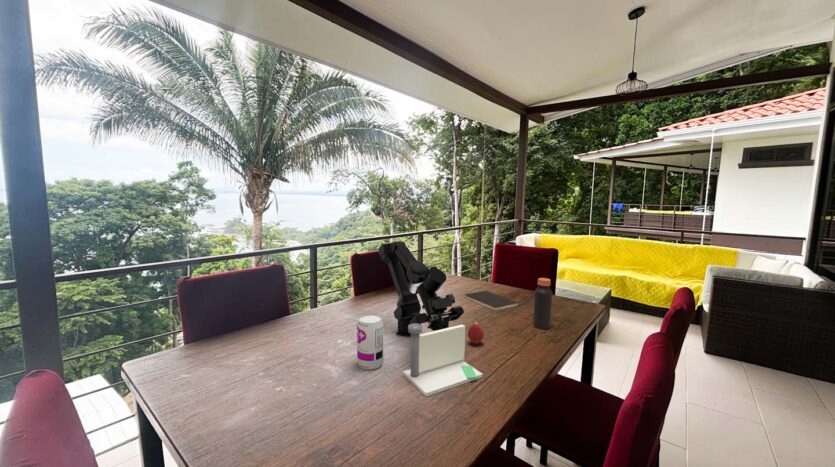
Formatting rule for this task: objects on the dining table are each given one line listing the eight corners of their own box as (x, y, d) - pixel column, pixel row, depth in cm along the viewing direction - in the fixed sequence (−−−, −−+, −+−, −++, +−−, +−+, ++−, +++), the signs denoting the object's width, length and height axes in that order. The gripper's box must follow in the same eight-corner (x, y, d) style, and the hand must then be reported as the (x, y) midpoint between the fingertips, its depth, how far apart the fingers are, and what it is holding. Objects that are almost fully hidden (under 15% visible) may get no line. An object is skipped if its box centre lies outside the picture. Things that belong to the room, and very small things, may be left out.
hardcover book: (494, 312, 161) (494, 307, 160) (464, 298, 180) (464, 294, 180) (519, 306, 169) (519, 302, 168) (487, 294, 188) (487, 290, 188)
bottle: (547, 323, 145) (550, 277, 143) (552, 330, 139) (555, 281, 136) (531, 322, 146) (533, 277, 144) (535, 329, 139) (537, 281, 137)
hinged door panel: (412, 379, 99) (412, 329, 97) (405, 373, 102) (405, 324, 100) (466, 362, 109) (468, 317, 107) (458, 357, 112) (460, 313, 110)
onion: (483, 347, 122) (484, 326, 121) (467, 346, 123) (467, 324, 122) (483, 341, 128) (484, 320, 127) (468, 339, 129) (468, 318, 128)
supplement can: (362, 373, 104) (361, 325, 102) (354, 361, 111) (353, 316, 109) (387, 367, 108) (387, 321, 106) (377, 356, 115) (377, 312, 113)
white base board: (428, 398, 91) (428, 394, 91) (402, 374, 103) (402, 370, 103) (485, 378, 102) (486, 374, 102) (457, 358, 114) (457, 354, 114)
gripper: (414, 290, 108) (433, 336, 100) (461, 282, 117) (482, 324, 109) (402, 307, 115) (419, 351, 107) (447, 299, 125) (466, 339, 117)
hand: (447, 341), depth 110 cm, fingers closed
